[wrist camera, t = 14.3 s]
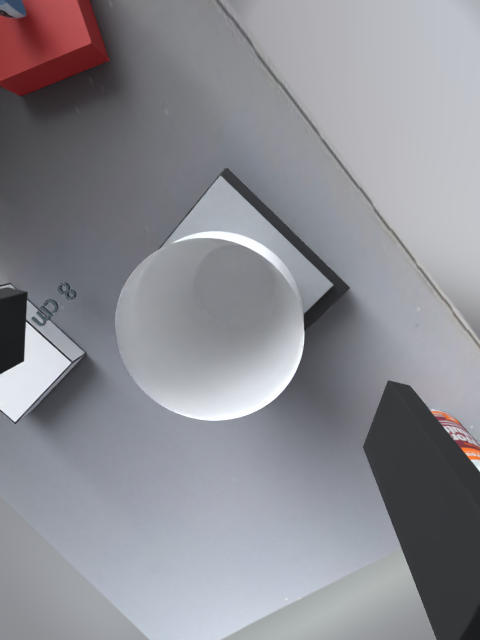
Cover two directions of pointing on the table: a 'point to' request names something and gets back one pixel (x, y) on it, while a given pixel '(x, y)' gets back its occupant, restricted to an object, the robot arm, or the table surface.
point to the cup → (211, 326)
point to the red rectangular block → (47, 42)
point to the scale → (263, 239)
